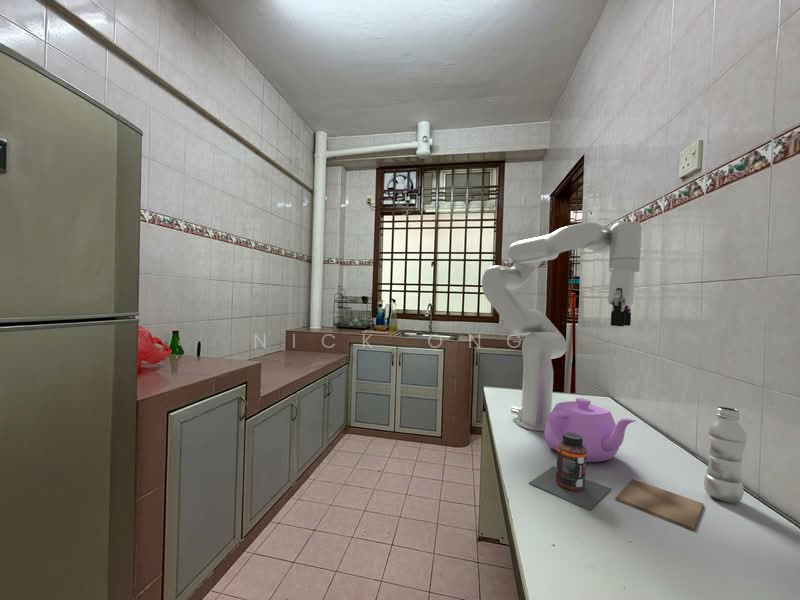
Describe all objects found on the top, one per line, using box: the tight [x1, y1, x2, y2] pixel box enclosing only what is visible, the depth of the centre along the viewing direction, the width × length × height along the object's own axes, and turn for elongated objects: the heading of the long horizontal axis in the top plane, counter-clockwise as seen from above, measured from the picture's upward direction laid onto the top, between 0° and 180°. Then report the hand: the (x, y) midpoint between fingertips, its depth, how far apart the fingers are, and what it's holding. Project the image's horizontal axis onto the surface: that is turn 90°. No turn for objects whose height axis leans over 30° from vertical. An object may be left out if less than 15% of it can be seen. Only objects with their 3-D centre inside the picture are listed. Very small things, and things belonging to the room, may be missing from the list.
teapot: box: [544, 397, 637, 463], centre depth 96 cm, size 23×21×15 cm
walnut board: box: [615, 478, 704, 531], centre depth 76 cm, size 13×13×1 cm
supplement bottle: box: [555, 432, 587, 491], centre depth 80 cm, size 6×6×11 cm
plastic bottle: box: [703, 406, 748, 504], centre depth 79 cm, size 6×7×20 cm
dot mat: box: [528, 465, 612, 511], centre depth 80 cm, size 13×13×1 cm
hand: (620, 325), depth 102 cm, fingers open, 9 cm apart
